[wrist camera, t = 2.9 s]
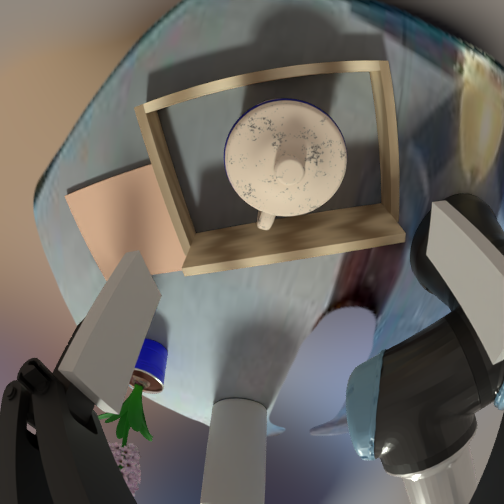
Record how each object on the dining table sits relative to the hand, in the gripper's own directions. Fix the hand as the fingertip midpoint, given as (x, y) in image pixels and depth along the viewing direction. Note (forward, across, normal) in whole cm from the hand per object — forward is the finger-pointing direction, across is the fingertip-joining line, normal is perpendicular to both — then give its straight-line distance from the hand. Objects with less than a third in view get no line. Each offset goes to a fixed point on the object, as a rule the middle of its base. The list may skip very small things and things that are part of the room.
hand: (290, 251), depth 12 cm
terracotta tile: (+19, +20, +5) cm, 28 cm away
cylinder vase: (+19, +17, +53) cm, 59 cm away
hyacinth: (+19, +28, +28) cm, 44 cm away
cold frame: (+19, 0, 0) cm, 19 cm away
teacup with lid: (+19, 0, 0) cm, 19 cm away
